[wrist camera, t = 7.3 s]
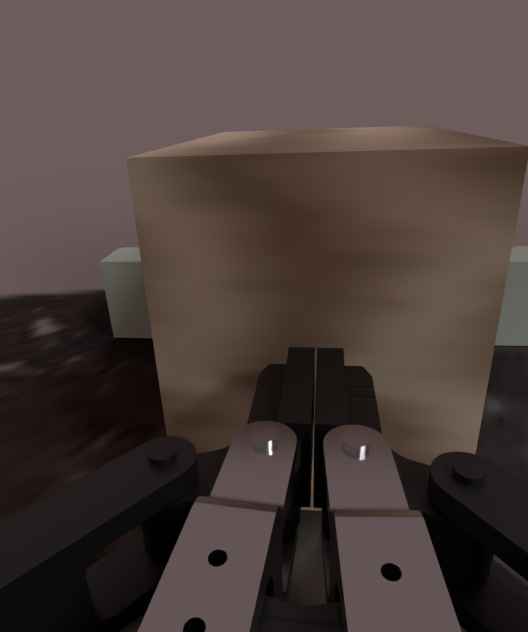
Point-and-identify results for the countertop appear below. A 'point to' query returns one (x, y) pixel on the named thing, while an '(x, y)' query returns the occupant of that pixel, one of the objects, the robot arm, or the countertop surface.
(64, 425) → the countertop surface
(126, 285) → the sage board
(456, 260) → the birch block
